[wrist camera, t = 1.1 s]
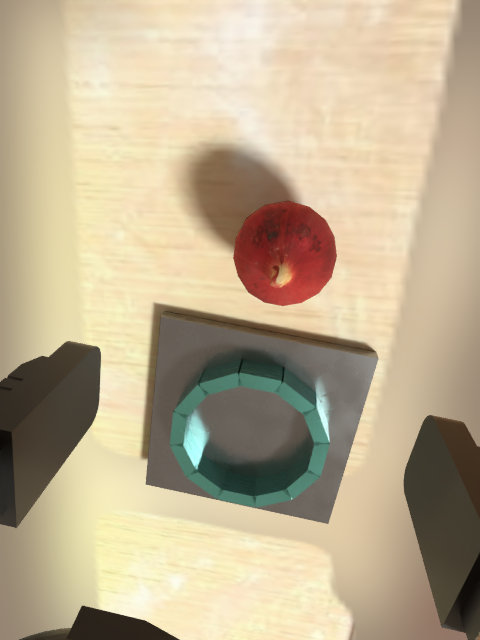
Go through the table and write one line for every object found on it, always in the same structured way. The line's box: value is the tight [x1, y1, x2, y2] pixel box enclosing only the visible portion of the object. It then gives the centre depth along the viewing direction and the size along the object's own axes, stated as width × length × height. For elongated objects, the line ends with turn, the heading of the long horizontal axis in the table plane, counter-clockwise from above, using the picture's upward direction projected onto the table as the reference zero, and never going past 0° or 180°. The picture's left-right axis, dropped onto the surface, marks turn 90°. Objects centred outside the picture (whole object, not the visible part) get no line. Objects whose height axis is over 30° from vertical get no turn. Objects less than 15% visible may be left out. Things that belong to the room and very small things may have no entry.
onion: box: [233, 201, 337, 306], centre depth 26 cm, size 6×6×8 cm
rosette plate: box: [146, 311, 378, 524], centre depth 34 cm, size 15×15×3 cm
